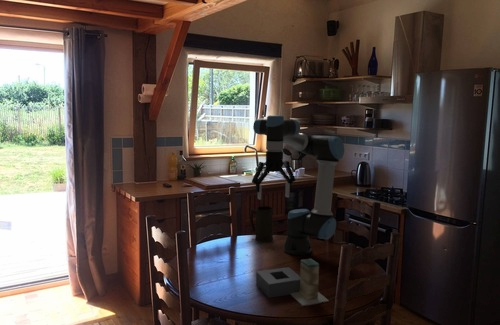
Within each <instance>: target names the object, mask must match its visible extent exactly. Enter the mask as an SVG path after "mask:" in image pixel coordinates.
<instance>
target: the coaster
mask: <svg viewBox="0 0 500 325" xmlns="http://www.w3.org/2000/svg"><path fill="white" fill-rule="evenodd" d="M290 296H291V297H292V298H293V299H295V300H296V301H297V303H299V304H300V305H301V306H302V307H304V306H311V305H317V304H321V303H322V302H323V303H327V302H328V303H329V299H328V298H326V296H324V295H323V294H321V293H320V291H318V299H313V300H306V299H305V298H304V297H303V296H302V295H300V292H295V293H290ZM323 303H322V304H323Z"/></svg>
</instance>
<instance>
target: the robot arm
mask: <svg viewBox="0 0 500 325" xmlns="http://www.w3.org/2000/svg"><path fill="white" fill-rule="evenodd" d="M252 126H253V128H252V129H253V132H254V133H255V134H257V135H260V136H262V135H265V136H266V138H265V140H266V141H265V150H266V151H265V162H263V161H259V162H258V167H257V169H256V171H255V173H254V175H253V178H252V179H251V183H252V184H255V192H256V193H257V199H258V200H259V201H261V200H262V191H263V190H262V188H263V187H262V182H263V181H264V180H265V178H266V177H267V176H268V174H270V173H275V172H276V173H278V172H279V173H280V174H281V176H282V177H283V178H284V179H285V181H286V182H285V194H284V196H285V197H286V198H288V199H289V198H290V191H291V190H292V184H293V183H294V182H296V177H295V175H294V173H293V171H292V168H291V163H290V161H289V160H285V161H284V160H283V159H284V151H283V150H284V144H286V145H289V146H290V147H293V149H294V150H295V151H298V152H300V153H303V154H305V155H307V156H309V157H314V158H316V160H315V161H316V162H317V164H318V169H317V178H316V188H315V196H314V207H313V208H312V209H311V211H310V210H309V209H308V208H299V209H292V210H290V211H288V214H287V236H286V239H285V242H284V245H283V251H284V252H285V253H286V254H289V255H294V256H306V255H309V254H311V252H312V245H311V243H310V238H309V236H310V237H314V238H317V239H321V240H322V239H323V240H329V239H331V238H332V237H333V235H334V233H335V231H336V229H337V220H336V219H335V218H334V217H333V216H334V214H333V212H332V211H331V207H332V199H333V190H334V181H335V180H334V179H335V170H336V166H337V164H339V160H341V159H342V158H343V157H344V155H345V145H344V141H343V140H342V139H341V137H339V136H336V135H335V136H333V135H317V134H305V133H302V132H301V133H300V131H301V124H300V122H299V121H298V120H296V119H292V118H289V119H286V118H285V117H284V116H283V115H280V114H278V115H277V114H276V115H275V114H273V115H270V114H269V115H267V117H266V118H257V119H255V120H254V122H253V125H252ZM283 166H284V167H285V170H286V171H285V170H284V169H283ZM263 169H264V170H263ZM262 171H263V172H262Z"/></svg>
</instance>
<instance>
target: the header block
mask: <svg viewBox="0 0 500 325" xmlns="http://www.w3.org/2000/svg"><path fill="white" fill-rule="evenodd" d="M255 276H256V277H255V278H256V280H255V281H256V286H257V287H258V288H259V289H260V291H262V292H263V293H264V295H266V296H267V298H268V299H270V298H276V297H283V296H288V295H290V293H295V292H300V274H298V273H296V271H294V270H293V269H292V268H290V267H288V266H287V267H281V268H273V269H272V268H271V269H265V270H258V271H257V270H256V275H255ZM290 296H291V295H290Z"/></svg>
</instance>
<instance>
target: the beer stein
mask: <svg viewBox="0 0 500 325" xmlns="http://www.w3.org/2000/svg"><path fill="white" fill-rule="evenodd" d="M273 213H274V209H273V207H272V206H266V205H265V206H258V207H256V210H255V209H254V208H251V209H250V214H249V219H248V220H249V224H250V227H251V228H250V229H251V230H250V233H252V234H253V233H255V241H257V242H259V243H271V242H272V241H274V233H273V232H274V228H273V227H274V225H273V222H274V218H273V215H274V214H273ZM254 215H255V225H254V220H253V219H254Z"/></svg>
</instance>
